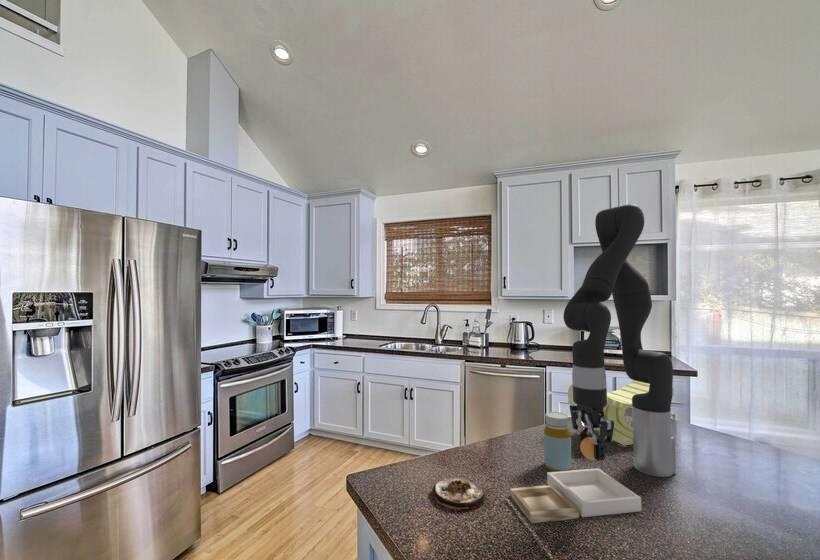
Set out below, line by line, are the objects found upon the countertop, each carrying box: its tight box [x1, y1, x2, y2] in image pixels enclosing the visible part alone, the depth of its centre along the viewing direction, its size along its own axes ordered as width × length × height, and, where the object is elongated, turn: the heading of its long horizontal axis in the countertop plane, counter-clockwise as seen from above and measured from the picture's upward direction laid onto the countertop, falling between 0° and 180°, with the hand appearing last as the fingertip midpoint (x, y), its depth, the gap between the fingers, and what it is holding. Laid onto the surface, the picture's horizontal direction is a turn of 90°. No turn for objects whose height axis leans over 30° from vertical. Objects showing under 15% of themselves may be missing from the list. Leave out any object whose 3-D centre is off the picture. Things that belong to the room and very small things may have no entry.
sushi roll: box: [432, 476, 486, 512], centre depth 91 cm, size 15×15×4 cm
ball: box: [579, 436, 597, 461], centre depth 90 cm, size 5×5×5 cm
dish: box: [546, 468, 642, 518], centre depth 90 cm, size 15×15×4 cm
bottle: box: [543, 411, 572, 472], centre depth 106 cm, size 7×7×15 cm
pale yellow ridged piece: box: [567, 380, 675, 445], centre depth 131 cm, size 30×16×18 cm, turn 105°
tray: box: [509, 484, 580, 524], centre depth 86 cm, size 11×11×2 cm
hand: (591, 454), depth 90 cm, fingers closed on ball, 5 cm apart
